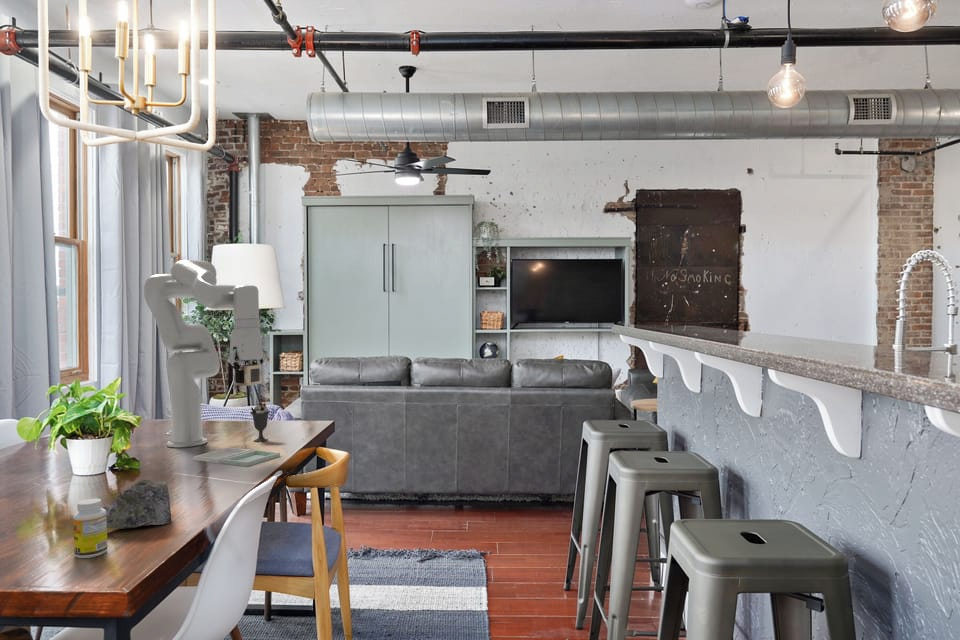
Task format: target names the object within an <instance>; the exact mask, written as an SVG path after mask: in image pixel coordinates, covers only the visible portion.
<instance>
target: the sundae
mask: <svg viewBox="0 0 960 640" xmlns="http://www.w3.org/2000/svg"><path fill="white" fill-rule="evenodd" d="M265 399H267V397H263V399H262V401H259V402H258V403H257V404H256V405H255V406H254V408H253V407H252V406H251V408H250V409H251V410H250V415H252V419H253V426H254V428H255V429H256V430H257V432H258V438H256V439H254V440H253V442H255V443H264V442H265V443H266V442H268V441H269V439H268V438H265V437H264V434H263V433H264V430H266V428H267V426H268V419H269V414H270V413H271V411H270V410H269V408H268V407H267V404H266V401H265Z"/></svg>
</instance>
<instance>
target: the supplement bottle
mask: <svg viewBox="0 0 960 640" xmlns="http://www.w3.org/2000/svg"><path fill="white" fill-rule="evenodd" d="M76 509H77V511H76V512H75V513H73V515H72V523H73V525H72V526H73V527H72V529H73V530H72V531H73V549H74V551H73V552H74V556H75V557H76V558H78V559H91V558H96V557H99V556H102V555H104V554H105V553H106V552H107V551H108V528H107V517H106V510H105V509H103V506H102V499H101V498H87V499H82V500H80V501H78V502H77V507H76Z"/></svg>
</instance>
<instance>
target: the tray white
mask: <svg viewBox="0 0 960 640" xmlns="http://www.w3.org/2000/svg"><path fill="white" fill-rule="evenodd" d="M250 451H253V449H249V448H248V449H247V448H239V447H229V446H228V447H224V448H220V449H217V450H213V451H209V452H206V453H202V454H197V455H195V456H194V455H193V461H197V462H207V463H214V464H220V463H222V461H221V460H222V459H226V458H229V457H233V456H236V455H240V454H243V453H247V452H250Z"/></svg>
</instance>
